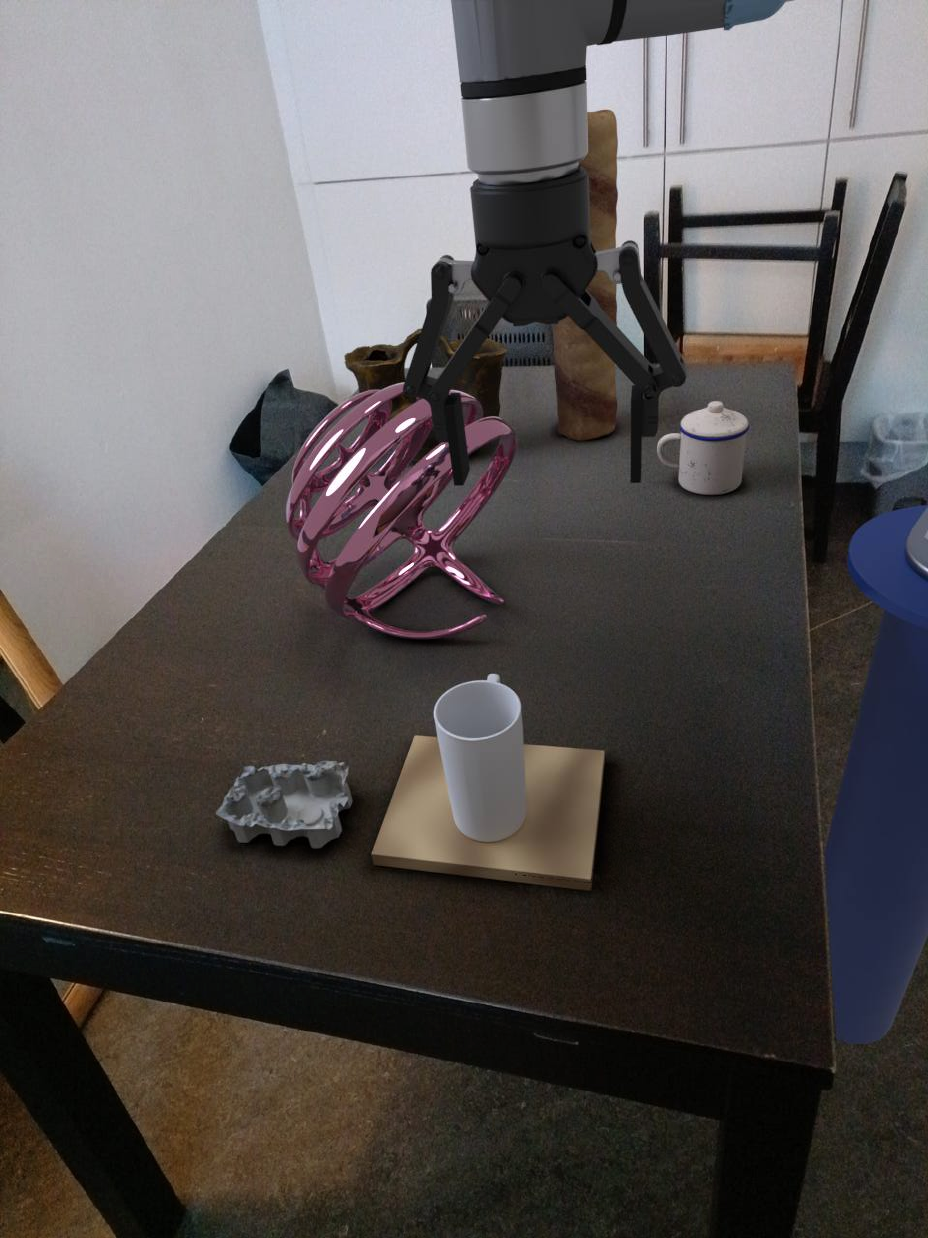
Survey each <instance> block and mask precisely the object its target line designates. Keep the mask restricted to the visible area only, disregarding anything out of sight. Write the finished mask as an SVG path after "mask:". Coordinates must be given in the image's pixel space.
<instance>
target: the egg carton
mask: <svg viewBox="0 0 928 1238" xmlns="http://www.w3.org/2000/svg"><path fill="white" fill-rule="evenodd" d="M349 768H350V765H349V764H348V763H347V762H345V761H342V762H340V761H338V760H321V761H316V764H310V763H306V762H302V763H301V764H289V763H280V764H272V765H269V766H262V767H260V768H257V767H256V766H255V765H248V766H243V768H242V773H241V775H240V777H239V776H237V777H236V778H235V781H234V784H233V786H231V788H229V791H228V793H227V794H226V795H225V796H224V797H223V802H222V805H221V806H220V807H219V808H218V809H217V810H216V812H215V815H217V816H218V817H220V818H222V819H223V820H226V821H227V823H228V825H229V829H230V830H231V831H233V833H234V834H235V838H236V840H237V842H238V843H240V844H241V843H242V844H249V843H250V842H251V841H252V840H253V839H254V838H256V837H258V835H262V834H266V835H270V836H271V840H272V843H273V845H274V846H278V847H279V846H280V847H285V846H286V845H288V843H289V842H290V841H291V840H294V839H296V838H298V837H305V838H307V839H308V842H309V845H310V847H311V848H312V849H322V848H323V847H324V846H325V845H326V844H327V843H329V842H330V841H332V840H335V839H337V838H339V837H340V835H341V833H342V832H343V828H342V824H341V820H340V817H339V813H340V812H341V811H343V810H349V809H350V808H351V806H352V804H353V801H354V800H353V797H352V793H351V790H350V789H351V788H350V787H349V784H348V782H346V779H347V776H348V775H349Z"/></svg>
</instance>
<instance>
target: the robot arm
mask: <svg viewBox="0 0 928 1238" xmlns="http://www.w3.org/2000/svg"><path fill="white" fill-rule="evenodd" d="M793 1H795V0H450V4H451V14H452V22H453V24H452V25H453V30H454V31H453V32H454V40H455V50H456V59H457V69H458V76H459V83H460V85H459V87H460V95H461V97H460V101H461V113H462V120H463V121H462V123H463V132H464V133H463V134H464V144H465V154H466V155H465V156H466V164H467V169H468V170H469V171H471V173H473V174H476V175H477V178H476V179H475V180H474V181H473V182H472V185H471V186H470V188H469V191H470V202H471V203H470V204H471V212H472V221H473V231H474V242H475V255H474V260H457V259H456V260H455V259H454V257H453V256H451V255H450V254H444V255H442V256H441V257H440V258H439V259H438V260H437V261H436V263H435V264H434V265H433V266H432V268H431V271H430V284H431V286H430V288H431V299H430V302H429V305H428V309H427V312H426V314H425V318H424V320H423V324H422V326H421V328H422V330H421V333H420V336H419V339H418V342H417V344H415V345H416V346H415V347H414V351H413V354H412V358H411V361H410V365H409V368H408V371H407V374H406V375H405V382H404V386H403V392H404V394H405V395H406V396H407V397H410V398H413V397H419V398H422V399H425V400H426V401H427V402H428V403H429V404H430V407H431V413H432V420H433V427H434V433H435V438H436V439H437V441H438V443H445V442H448V444H449V452H450V459H451V466H452V474H453V478H452V480H453V486H459V487H460V486H461V487H463V486H464V485H465V483H466V480H467V478H468V475H469V473H470V470H471V469H470V459H469V455H468V451H467V443H466V435H465V426H464V418H463V410H462V402H461V394H460V393H450V395H449V392H450V390H451V389H452V387H453V386H454V384H455V383H456V382H457V380H458V379H459V377H460V376H461V374H462V373H463V372H464V370H465V369H466V367H467V366H468V364H469V363H470V362H471V360H472V359H473V357H474V356H475V354H476V353H477V351H478V350H479V349H480V347H481V346H482V344H483V343H484V341H485V340H486V339H488V337H489V336H490V335H491V333H492V332H493V331H494V329H495V328H496V326H497V325H498V323H499V322H500V320H501V319H502V320H504V321H505V322H507V323H509V324H511V325H512V326H513V327H525V326H528V325H531V324H534V323H539V324H543V325H553V324H558V323H559V321H561V320H563V319H565V318H566V317H567V316H569V317H570V318H571V319H572V320H573V321H574V323H575V324H576V325H577V326H578V327H579V328H580V329H582V330H584V331H585V332H586V333H587V334H588V335H589V336H590V337H591V338H592V339H593V340H594V341H595V342H596V344H597V345H598V346H599V347H600V348H601V349H602V350H603V351H604V352H605V353H606V354H607V356H608V357H609V358H610V359H611V360H612V361H613V362H614V363H615V366H616V367H617V368H618V369H619V370H620V371H621V372H622V373H623V374H624V375H625V376H626V378H627V379H628V380H629V381H630V382H631V383H632V384H633V385H631V394H630V484H641V483H642V469H643V468H642V462H643V461H642V460H643V459H642V458H643V457H642V455H643V438H652V437H654V438H655V437H656V436H657V433H658V431H659V408H660V407H659V406H660V405H659V404H660V403H659V400H660V396H661V394H662V392H664V391H665V390H667V389H670V388H672V387H674V388H679V387H682V386H683V385H684V384H685V383H686V380H687V371H686V370H687V369H686V362H685V360H684V358H683V356H682V354H681V352H680V349H679V347H678V346H677V344H676V342H675V340H674V338H673V336H672V334H671V332H670V330H669V328H668V325H667V324H666V322H665V320H664V317H663V315H662V313H661V311H660V309H659V307H658V305H657V303H656V301H655V299H654V297H653V295H652V293H651V290H650V289H649V287H648V285H647V282H646V281H645V279H644V277H643V275H642V269H641V258H640V249H639V244H638V243H637V242H636V241H634V240H632V239H631V240H630V239H628V240H626V241H624V242H623V243H622V244H621V246H619V247H616V248H613V249H608V250H603V251H598V252H596V251H595V249H594V247H593V245H592V242H591V238H590V207H589V174H588V173H587V172H585V169H584V168H583V167H580V165H579V161H581V160H583V159H584V158H585V156H586V155H587V154H588V123H587V112H588V90H587V89H588V88H587V80H588V79H587V50H588V49H587V47H590V46H595V45H596V46H603V45H604V46H605V45H611V44H613V43H615V42H625V41H632V40H641V39H650V38H659V37H670V36H674V35H676V36H677V35H683V34H689V33H695V32H703V31H710V30H717V29H718V30H719V29H723V31H730V30H731V29H733V28H734V27H735V26H741V25H745V24H750V23H755V22H761V21H766V20H767V19H770V18H771V17H773V16H774V15H775V14H777V13H778V11H780V10H781V9H782V8H783V6H784V5H785V4H786V3H788V2H793ZM599 270H601V271H604V272H606V273H607V274H608V276H609V279H610V280H611V282H613V283H615V284H617V285H621V288H622V291H623V294H624V296H625V299H626V301H627V303H628V305H629V308H630V310H631V311H632V313H633V315H634V317H635V319H636V321H637V323H638V325H639V327H640V329H641V331H642V333H643V335H644V337H645V339H646V341H647V342H648V345H649V347H650V348H651V351H652V353H653V355H654V356H655V358H656V361H657V362H658V364H659V366H657V367H654V365H653V364H652V363H651V361H649V360H648V359H647V358H646V356H644V354H643V353H642V352H641V351H640V350H639V349H638V347H636V345H635V344H634V343H633V342H632V341H631V339H629V338H628V336H626V334H625V333H624V332H623V331H622V330H621V329H620V328H619V326H618V325H617V326H616V324H615V323H614V322H613V321H612V320H611V319H610V318H609V317H608V316H607V314H606V313H605V312H604V311H603V310H602V309H601V308H600V306H599V304H598V302H597V301H596V300H595V298H594V297H593V296H592V295H591V294H590V293H589V292H588V291H587V290H586V289H587V287H588V286H589V284H590V283H591V281H592V279H593V278H594V276H595V275H596V272H597V271H599ZM467 281H472V282H473V284H474V285H475V287H476V288H477V289H478V290H479V292H480V293H481V294H482V295H483V297H484V298H485V299H486V300H487V304H486V305H485V306H484V308H483V310H482V311H481V312H480V315H479V316H478V317H477V319H476V321H475V322H474V324H472V326H471V327H470V329H469V330H468V332H467V334H466V335H465V336H464V338H463V339H464V340H463V341H462V343H461V344H460V346H459V347H458V349H457V350H456V351H455V353H454V354H453V356H452V357H451V359H450V360H449V362H448V361H447V363H446V365H445V366H444V367H443V369H442V371H441V372H440V374H439V375H438V377H437V378H436V377H433V376H432V377H431V376H429V372H430V369H431V366H432V364H433V360H434V358H435V355H436V352H437V349H438V343H439V340H440V337H441V335H443V331H444V328H445V326H446V322H447V319H448V317H449V314H450V311H451V308H452V305H453V302H454V298H455V296H458V295H460V294H461V292H462V291H463V289H464V288H465V285H466V282H467ZM904 555H905V559H906V561H907V563H908V565H909V566H910V567H911V569H912V570H913V571H914V572H916V573H917V574H918V575H919V576H921V577H922V578H924V579H925V580H927V581H928V507H927V509H926V510H925V511H924V513H923V514H922V516H921V517H920V518H919V520H918V521H917V523H916V524H915V526H914V527H913V528H912V530H911V532H910V534H909V536H908V539H907V542H906V546H905V551H904Z"/></svg>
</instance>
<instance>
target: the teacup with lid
mask: <svg viewBox="0 0 928 1238" xmlns="http://www.w3.org/2000/svg"><path fill="white" fill-rule="evenodd" d="M679 430H680V432H679V433H678V432H677V433H676V432H675V433H674V432H673V433H667V434H665V435H663V436H662V437H661V438H660V439H659V440H658V442H657V446H656V452H657V457H658V459H659V460H660V462H661V463H662V464H663V465H664V466H666V467H668V468H673V469H678V477H677V479H678V480H677V481H678V483H679V485H680V486H681V487H682V488H683V489H685V490H686V491H688V492H690V493H694V494H697V495H704V496H719V495H724V494H728V493H731V492H733V491H735V490H736V489H738V488H739V487H740V485H741V484H742V482H743V480H742V479H743V472H744V471H743V470H744V463H745V462H744V461H745V453H746V452H745V451H746V442H747V433H748V431H749V430H750V423H749V420H748V418H747V417H746V416H745V415H744V414H742V413H740V412H738V411H735V410H731V409H728V408H726V407H724V403H723V402H722V401H719V400H714V401H710V402H709V403H708V404H707V407H704V408H702V409H698V410H694V411H691V412H689V413H687V414H686V415H684V416H683V417H682V419H681V420H680V422H679ZM670 441H680V442H679V459H678V460H677V461H676V460H670V459H669V458H667V457H666V456H665V454H664V452H663V447H664V445H665V444H666V443H667V442H670Z"/></svg>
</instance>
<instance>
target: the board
mask: <svg viewBox="0 0 928 1238" xmlns="http://www.w3.org/2000/svg"><path fill="white" fill-rule="evenodd" d="M524 764H525V783H526V817H525V820H524V823H523V824H522V826H521V827H520V829H519V830H518V831H517V832H515V833H514V834H513V835H511V836H509V837H508V838H505V839H503V840H499V841H494V842H481V841H477V840H473V839H471V838H469V837H467V836H465V835H464V834H463V833H462V832H461V831H460V830H459V829H458V827H457V826H456V824H455V821H454V817H453V812H452V808H451V803H450V799H449V794H448V789H447V783H446V778H445V773H444V768H443V763H442V758H441V753H440V748H439V742H438V737H437V736H429V735H417V734H416V735H414V737H413V738H412V741H411V745H410V748H409V750H408V753H407V756H406V757H405V761H404V764H403V767H402V769H401V772H400V775H399V777H398V780H397V783H396V785H395V788H394V791H393V793H392V797H391V800H390V802H389V804H388V807H387V809H386V813H385V815H384V817H383V821H382V823H381V826H380V830H379V832H378V835H377V837H376V840H375V843H374V845H373V849H372V851H371V853H370V854H371V857H372V861H373V865H374V866H381V867H388V868H395V869H403V870H413V871H421V872H430V873H438V874H446V875H456V876H462V877H471V878H479V879H488V880H497V881H505V882H511V883H512V882H514V883H521V884H529V885H538V886H546V887H554V888H555V887H556V888H563V889H571V890H572V889H573V890H580V891H587V892H591V891H592V887H593V880H594V879H593V878H594V868H595V860H596V849H597V840H598V832H599V821H600V812H601V802H602V793H603V784H604V776H605V775H604V774H605V773H604V772H605V766H606V765H605V764H606V751H605V750H601V749H588V748H578V747H566V746H565V747H564V746H554V745H553V746H552V745H539V744H529V743H528V744H527V743H524ZM592 870H593V871H592ZM515 874H517V875H515ZM523 875H526V876H523ZM529 875H530V876H529ZM532 876H535V877H532ZM539 876H540V877H544V878H540V877H539ZM549 878H554V879H549ZM557 879H565V880H557ZM591 879H592V880H591ZM566 880H570V881H566ZM573 880H575V881H581V882H574V881H573ZM583 882H591V883H583Z"/></svg>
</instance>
